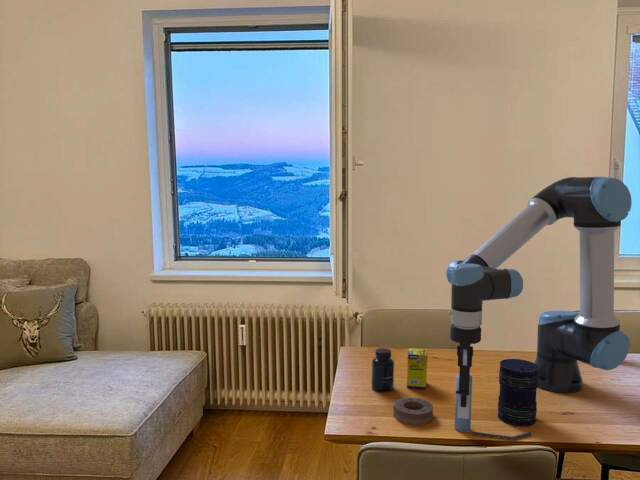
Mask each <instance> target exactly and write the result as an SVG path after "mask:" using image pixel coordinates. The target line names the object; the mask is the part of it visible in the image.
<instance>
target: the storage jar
mask: <svg viewBox="0 0 640 480" xmlns="http://www.w3.org/2000/svg"><path fill="white" fill-rule="evenodd" d="M498 377H499V378H498V382H499V383H498V384H499V395H498V401H497V411H498V412H497V418H498V420H500V421H501V422H502V423H504V424H507V425H509V426H512V427H520V428H526V427H532V426H533V425H536V423H537V419H536V417H537V412H538V408H537V405H538V402H537V389H538V388H539V387H538V366H537V365H536V364H535V362H532V361H529V360H526V359H519V358H506V359H502V360H501V361H500V362H499V372H498Z"/></svg>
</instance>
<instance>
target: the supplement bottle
mask: <svg viewBox="0 0 640 480" xmlns="http://www.w3.org/2000/svg"><path fill="white" fill-rule="evenodd" d="M374 356H375V357H373V359H372V360H371V385H370V386H371V388H372V389H373V391H375V392H379V393H387V392H391V391H392V390H393V389H394V381H395V380H394V379H395V362H394V360H393V358H392V350H391V349H390V348H386V347H385V348H383V347H381V348H376V349H375V355H374Z"/></svg>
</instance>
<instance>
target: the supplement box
mask: <svg viewBox="0 0 640 480" xmlns="http://www.w3.org/2000/svg"><path fill="white" fill-rule="evenodd" d="M407 351H408V352H407V370H406V371H407V373H406V374H407V377H406V388H407V389H417V390H418V389H419V390H427V375H428V349H425V348H424V349H422V348H412V347H411V348H410V347H409V348H408V350H407Z"/></svg>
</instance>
